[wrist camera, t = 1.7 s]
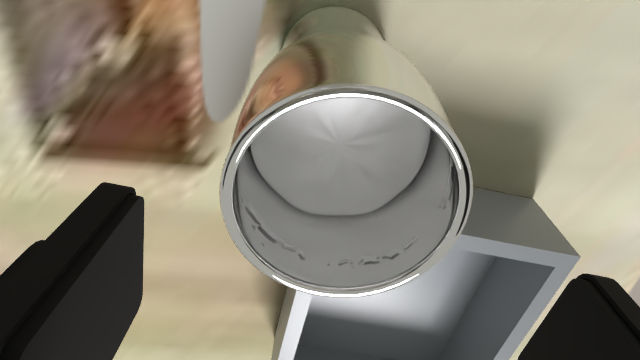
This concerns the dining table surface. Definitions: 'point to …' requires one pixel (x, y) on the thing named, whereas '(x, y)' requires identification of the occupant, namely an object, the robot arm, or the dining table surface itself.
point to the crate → (443, 296)
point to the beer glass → (343, 164)
